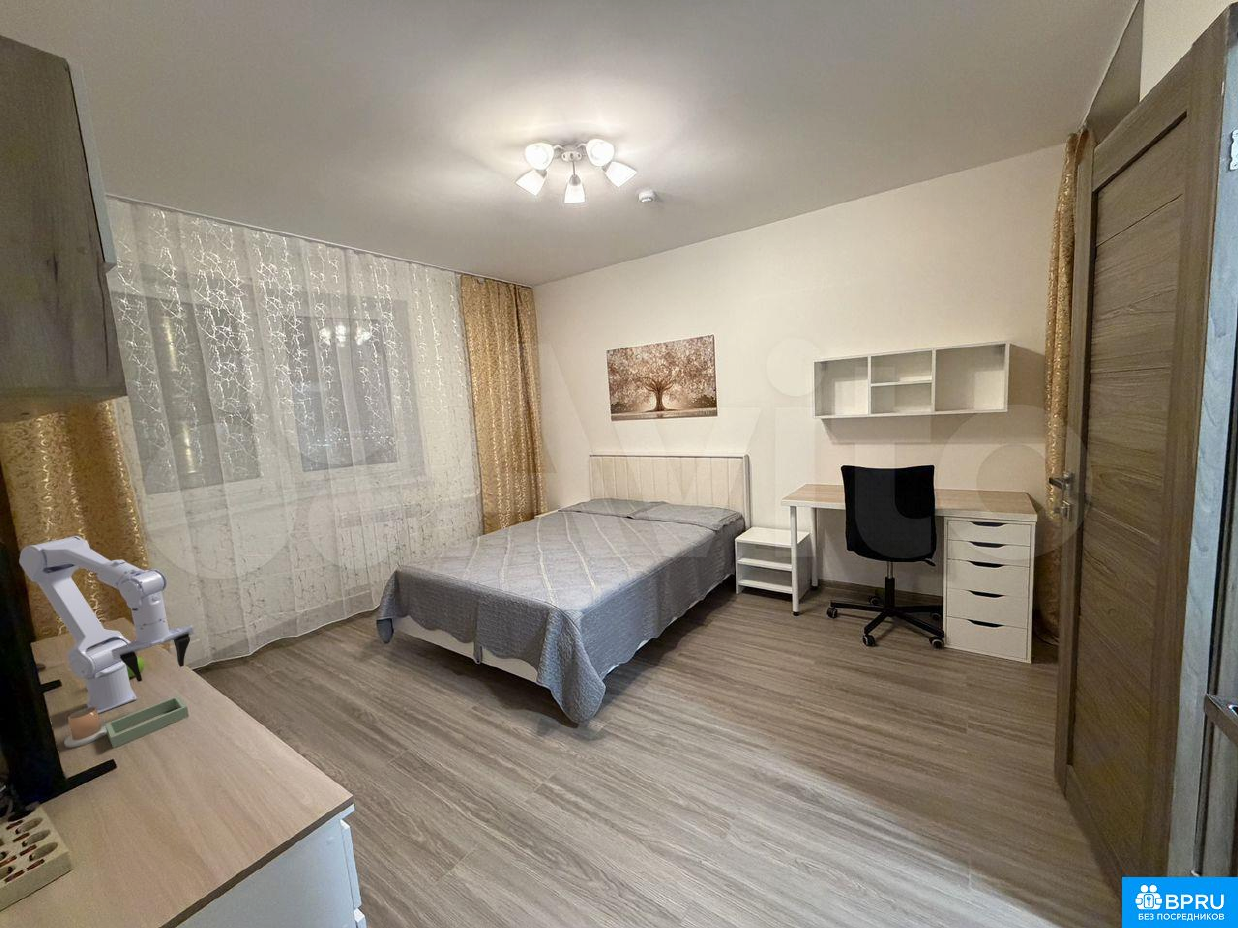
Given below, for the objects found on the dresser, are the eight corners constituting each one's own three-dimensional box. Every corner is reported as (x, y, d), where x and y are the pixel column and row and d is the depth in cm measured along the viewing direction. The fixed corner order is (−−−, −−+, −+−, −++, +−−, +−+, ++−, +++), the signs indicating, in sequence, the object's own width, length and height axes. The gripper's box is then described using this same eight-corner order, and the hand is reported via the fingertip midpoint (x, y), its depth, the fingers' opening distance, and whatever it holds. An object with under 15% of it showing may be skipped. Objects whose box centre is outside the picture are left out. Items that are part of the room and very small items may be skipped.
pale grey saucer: (63, 740, 108) (62, 736, 108) (108, 722, 113) (107, 718, 113) (66, 752, 104) (65, 747, 104) (112, 733, 109) (112, 729, 109)
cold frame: (107, 734, 109) (105, 724, 109) (180, 704, 119) (178, 695, 119) (113, 748, 104) (111, 737, 104) (188, 716, 114) (187, 706, 114)
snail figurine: (132, 681, 132) (124, 641, 130) (114, 680, 133) (106, 640, 132) (154, 671, 137) (147, 631, 136) (137, 670, 138) (129, 631, 137)
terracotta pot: (70, 736, 108) (65, 715, 107) (98, 724, 111) (94, 704, 111) (74, 742, 105) (70, 721, 105) (103, 730, 109) (99, 710, 108)
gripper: (110, 637, 109) (122, 692, 111) (193, 612, 121) (202, 663, 122) (106, 630, 113) (117, 683, 115) (186, 607, 125) (195, 655, 126)
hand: (160, 672), depth 119 cm, fingers open, 7 cm apart
